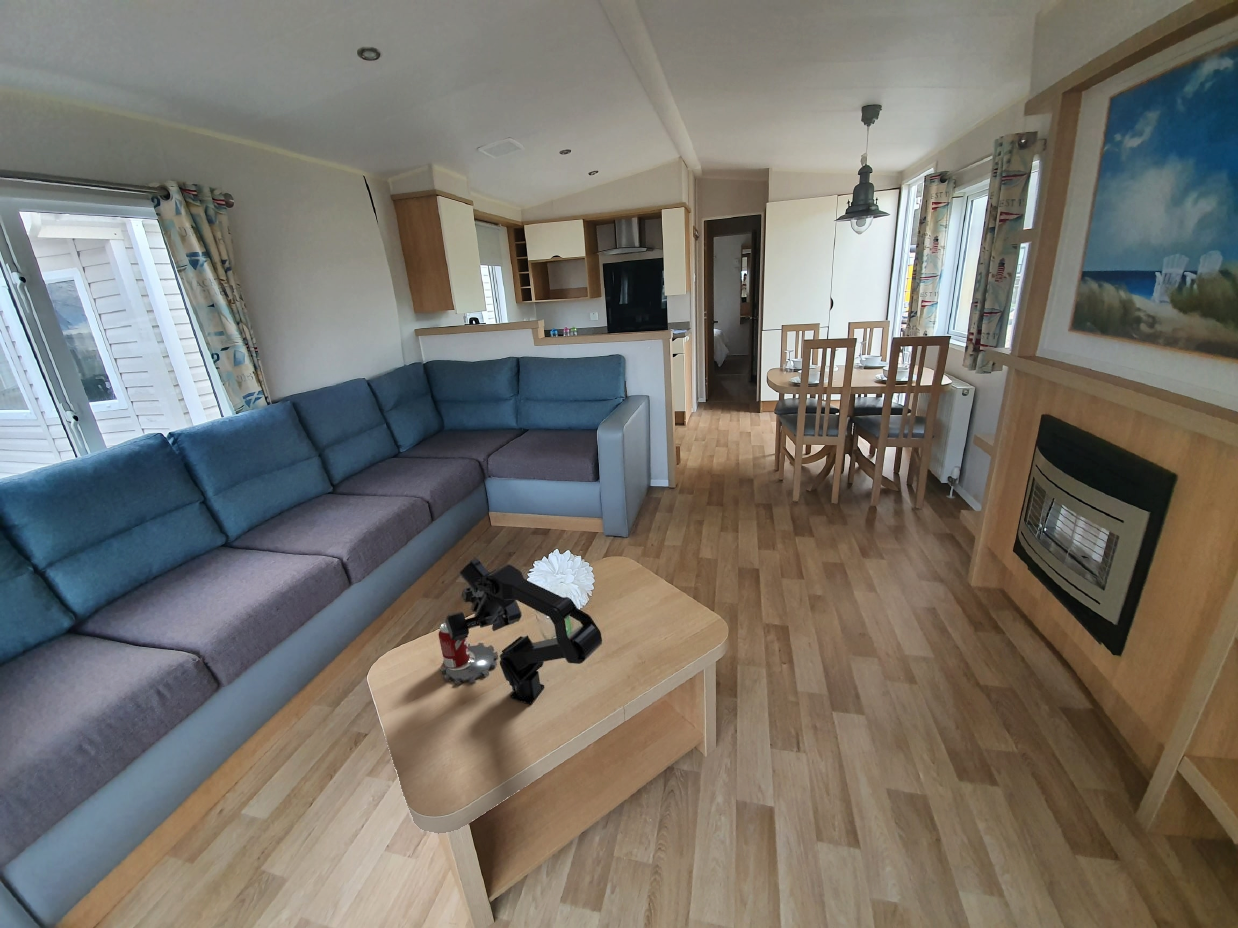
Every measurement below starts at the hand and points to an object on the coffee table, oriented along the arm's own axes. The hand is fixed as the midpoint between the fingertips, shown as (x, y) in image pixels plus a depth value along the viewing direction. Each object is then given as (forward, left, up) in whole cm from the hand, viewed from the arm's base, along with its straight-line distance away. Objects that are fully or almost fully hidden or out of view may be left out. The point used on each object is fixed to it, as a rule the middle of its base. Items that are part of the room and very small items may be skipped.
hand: (477, 634), depth 131 cm
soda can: (+7, +2, -10) cm, 12 cm away
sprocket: (+4, 0, -11) cm, 12 cm away
